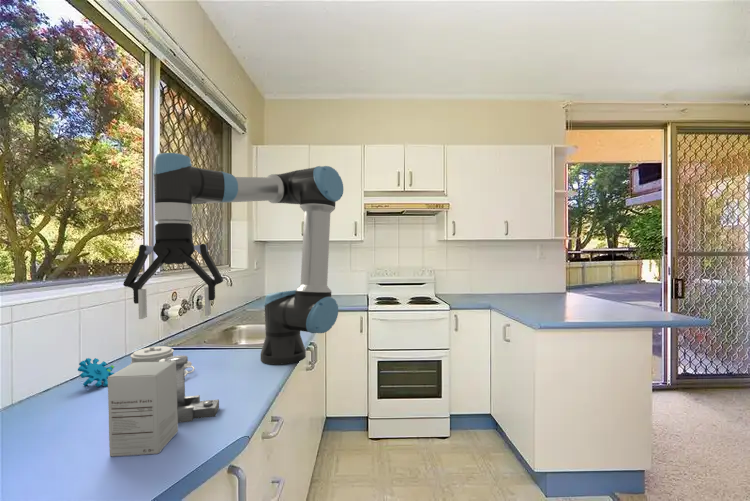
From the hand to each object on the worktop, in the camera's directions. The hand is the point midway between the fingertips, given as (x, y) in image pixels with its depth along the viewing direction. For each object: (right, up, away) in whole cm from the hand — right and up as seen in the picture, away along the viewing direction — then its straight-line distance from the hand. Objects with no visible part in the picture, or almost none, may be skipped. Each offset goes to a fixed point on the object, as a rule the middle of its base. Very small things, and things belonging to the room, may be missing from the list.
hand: (176, 316), depth 88 cm
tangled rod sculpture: (-16, -23, +25) cm, 38 cm away
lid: (-30, -23, +42) cm, 57 cm away
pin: (0, -23, 0) cm, 23 cm away
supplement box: (0, -23, -12) cm, 26 cm away
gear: (-33, -23, +22) cm, 46 cm away
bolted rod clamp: (0, -23, 0) cm, 23 cm away
